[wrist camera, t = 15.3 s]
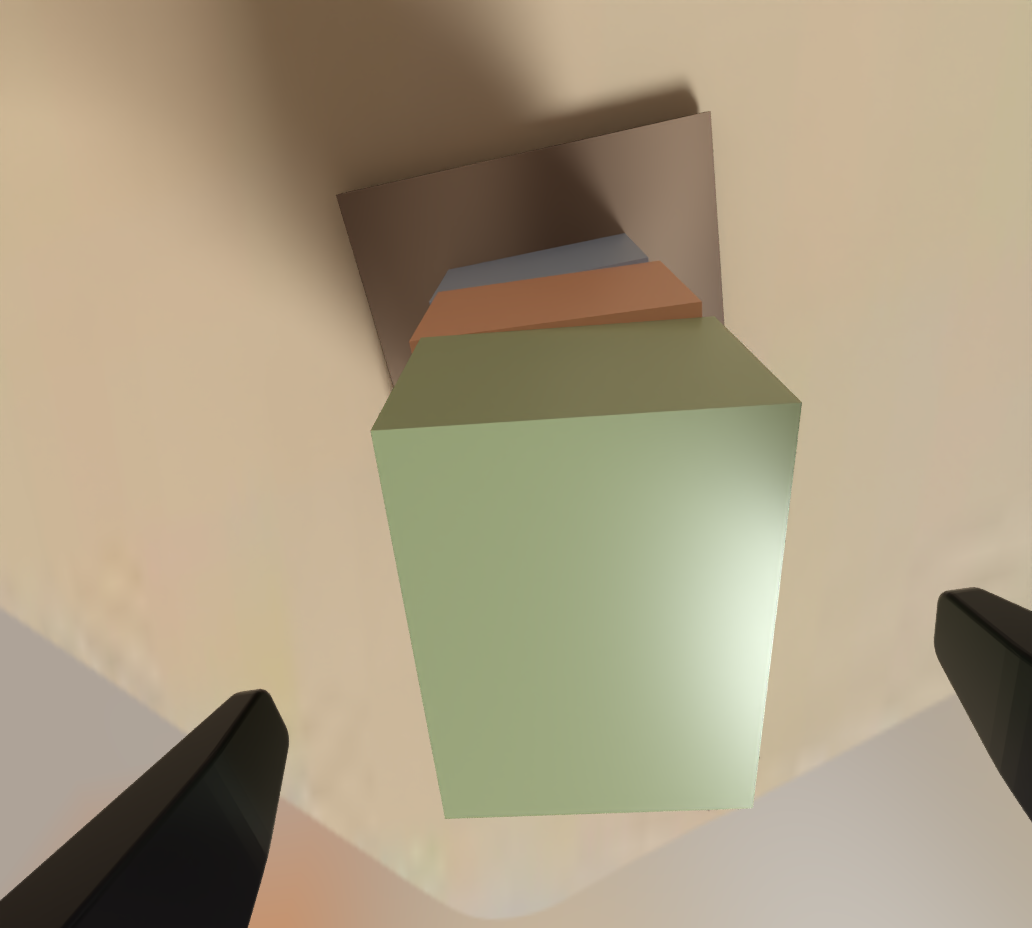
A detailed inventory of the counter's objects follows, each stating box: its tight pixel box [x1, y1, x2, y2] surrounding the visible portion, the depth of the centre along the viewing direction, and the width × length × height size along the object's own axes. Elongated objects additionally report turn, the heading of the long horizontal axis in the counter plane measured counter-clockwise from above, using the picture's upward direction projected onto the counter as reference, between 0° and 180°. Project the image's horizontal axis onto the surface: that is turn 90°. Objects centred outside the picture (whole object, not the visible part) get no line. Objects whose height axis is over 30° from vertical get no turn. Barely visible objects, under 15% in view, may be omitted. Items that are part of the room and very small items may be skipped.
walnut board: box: [336, 111, 724, 386], centre depth 20 cm, size 10×12×1 cm
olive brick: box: [371, 316, 802, 819], centre depth 11 cm, size 5×7×4 cm
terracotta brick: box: [409, 261, 702, 353], centre depth 15 cm, size 5×7×4 cm
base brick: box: [429, 233, 649, 305], centre depth 18 cm, size 5×7×4 cm
